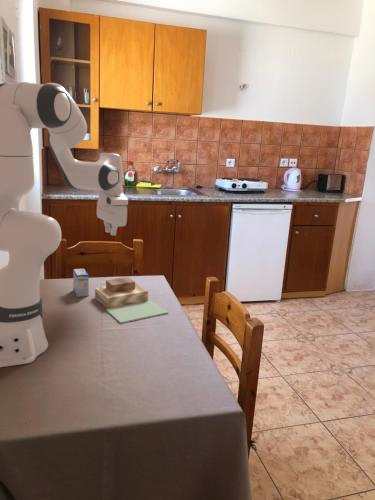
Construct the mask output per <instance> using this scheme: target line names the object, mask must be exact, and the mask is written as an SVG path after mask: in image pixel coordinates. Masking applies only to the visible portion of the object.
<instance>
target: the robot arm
mask: <svg viewBox="0 0 375 500" xmlns="http://www.w3.org/2000/svg"><path fill="white" fill-rule="evenodd" d="M32 129H47V131H48V133H47V143H48V146H49V149H50V151H51V153H52V155H53V159H55V162H56V164H57V166H58V167H59V169H60V173H61V177H62V180H63V182H64V184H65V185H66V187H68V189H70V190H84V191H85V190H88V191H98V200H97V202H96V203H97V204H96V216H97V218H98V219H100V220H102V221H103V224H104V229H105V230H104V231H105V232H106V233H107V234H108V233H110V235H111V236H117V230H118V228H119V227H125V226H126V225H127V223H128V222H127V221H128V220H127V219H128V207H127V206H128V205H129V199H128V198H127V196H125V193H124V188H123V187H124V186H123V179H124V166H123V159H122V156H121V155H120V154H119V153H116V152H111V151H103V152H101V153H99V159H98V160H96V161H95V162H94V161H93V162H92V161H83V160H78V159H76V158H74V156H73V153H72V151H71V149H73V148H75V147H77V146H78V145H80V144H81V143H82V142H83V141H84V139H85V138H86V135H87V133H88V124H87V121H86V118H85V116H84V115H83V113H82V111H81V109H80V108H79V106H78V104H77V102H76V101H75V100H74V99H73V97H72V96H71V95H70V93H69V92H68V91H67V90H66V89H65V87H63V86H62V85H61V84H60V83H57V82H47V83H45V84H42V83H34V82H33V83H32V82H27V81H23V82H13V83H11V82H10V83H7V82H4V83H0V251H1V252H8V254H9V259H8V262H7V265H4V266H2V268H0V368H4V367H12V366H17V365H18V366H19V365H25V364H31V363H33V362H34V361H35V360H36V358H37V357H39V356H40V355H41V354H43V353H44V352H46V350H47V349H48V347H49V342H48V340H47V336H46V333H45V329H44V325H43V314H44V310H43V309H44V308H43V307H44V306H43V301H42V298H41V292H40V291H41V287H40V283H41V282H40V281H41V280H40V277H41V271H42V268H43V264H44V263H45V261H46V259H47V258H48V257H49V256H50V255H52V254H53V253H54V252H55V251H57V249H58V247H59V246H60V244H61V241H62V228H61V226H60V224H59V222H58V221H57V220H56V219H55V218H53V217H51V216H49V215H46V214H43V213H40V212H33V211H26V210H25V211H24V210H20V202H21V199H22V197H23V196H25V195H26V194H28V193H29V192H31V191H32V190H33V188H34V186H35V169H34V151H33V150H34V148H33V142H32V141H33V140H32V136H31V130H32Z"/></svg>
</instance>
